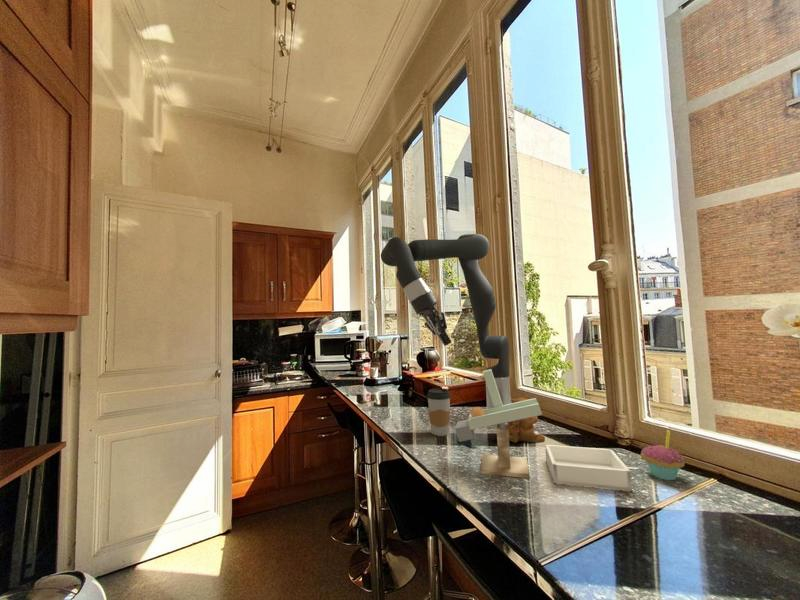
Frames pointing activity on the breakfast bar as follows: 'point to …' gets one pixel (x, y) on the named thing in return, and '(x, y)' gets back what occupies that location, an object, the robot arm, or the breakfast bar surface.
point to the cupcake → (663, 460)
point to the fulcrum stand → (504, 459)
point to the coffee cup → (439, 411)
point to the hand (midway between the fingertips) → (448, 344)
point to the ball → (477, 412)
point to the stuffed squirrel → (523, 428)
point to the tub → (587, 467)
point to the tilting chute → (496, 412)
